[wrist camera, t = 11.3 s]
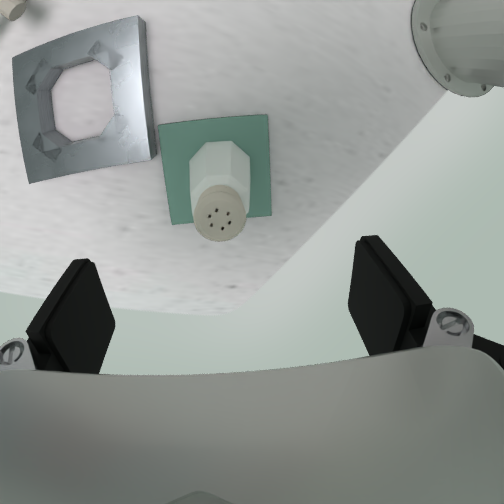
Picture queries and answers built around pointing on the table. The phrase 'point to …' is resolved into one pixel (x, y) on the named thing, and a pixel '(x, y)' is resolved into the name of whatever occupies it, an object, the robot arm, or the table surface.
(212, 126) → the mat
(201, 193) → the pepper shaker
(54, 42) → the frame
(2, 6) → the pipe connector
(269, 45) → the table surface
